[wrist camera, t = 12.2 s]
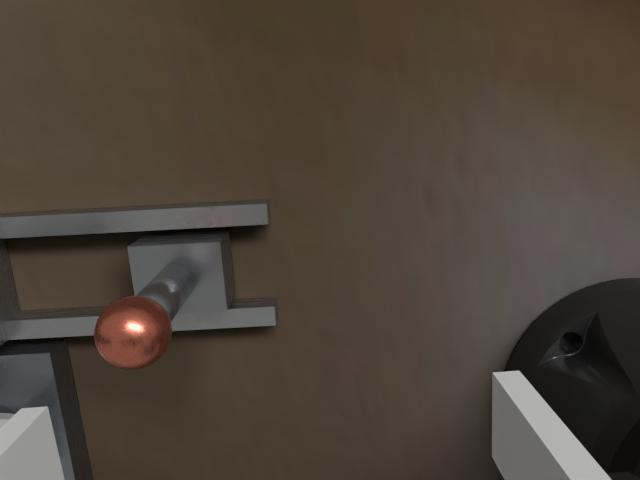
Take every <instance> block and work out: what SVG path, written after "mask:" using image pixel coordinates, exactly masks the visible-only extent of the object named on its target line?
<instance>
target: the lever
mask: <svg viewBox="0 0 640 480" xmlns="http://www.w3.org/2000/svg"><path fill="white" fill-rule="evenodd" d="M127 249H128V255H129V262H130V269H131V275H132V282H133V289H134V295H135V296H127V297H123V298H121V299H118V300H116V301H114V302H113V303H111V304H110V305H109V306H107V307H106V308H105V309H104V310H103V312H102V313H101V314H100V316H99V318H98V320H97V322H96V325H95V329H94V341H95V346H96V348H97V350H98V352H99V354H100V355H101V357H102V358H103V359H104V360H105V361H106V362H108V363H109V364H111V365H112V366H114V367H117V368H120V369H125V370H135V369H141V368H144V367H147V366H149V365H151V364H153V363H154V362H156V361H157V360H158V359H159V358H160V357H161V356H162V355H163V354H164V353H165V351H166V350H167V348H168V346H169V344H170V341H171V337H172V324H171V322H172V320H173V319H174V317H175V316H176V314H188V313H206V312H225V311H228V308H229V306H230V304H231V302H232V299H233V297H234V295H235V285H234V275H233V264H232V254H231V244H230V234H229V230H220V231H201V232H182V233H163V234H146V235H144V236H143V237H141V238H140V239H138V240H137V241H135V242H134V243H132V244H131V245H129V246H128V247H127Z"/></svg>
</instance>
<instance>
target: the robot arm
mask: <svg viewBox="0 0 640 480" xmlns="http://www.w3.org/2000/svg"><path fill="white" fill-rule="evenodd" d="M492 458H493V460H494V461H495V463H496V465H497V467H498V469H499V471H500V472H501V474H502V476H503V478H504V480H640V279H639V278H627V279H617V280H611V281H606V282H602V283H598V284H595V285H592V286H589V287H586V288H584V289H581V290H579V291H577V292H575V293H573V294H571V295H569V296H567V297H565V298H564V299H562V300H561V301H559V302H558V303H556V304H555V305H553V306H552V307H551V308H549V309H548V310H547V311H546V312H544V313H543V314H542V315H541V316H540V317H539V318H538V319H537V320H536V321H535V322H534V323H533V324H532V325H531V327H530V328H529V329H528V330H527V331H526V333H525V334H524V335H523V337H522V338H521V340H520V341H519V343H518V345H517V346H516V348H515V350H514V352H513V354H512V356H511V359H510V361H509V364H508V367H507V370H506V372H493V373H492ZM0 480H65V479H64V475H63V470H62V466H61V462H60V457H59V453H58V449H57V444H56V440H55V436H54V431H53V427H52V423H51V418H50V414H49V409H48V406H47V407H33V408H21V409H20V410H19V411H18V412H17V413H16V414H15V415H14V416H13V417H12V418H11V419H10V420H9V421H8V422H7V423H6V424H4V425H3V426H2V427H1V428H0Z"/></svg>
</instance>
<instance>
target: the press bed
mask: <svg viewBox="0 0 640 480" xmlns="http://www.w3.org/2000/svg"><path fill="white" fill-rule="evenodd" d="M47 406H48V409H49V414H50V418H51V423H52V427H53V431H54V436H55V440H56V444H57V449H58V453H59V457H60V462H61V466H62V470H63V475H64V479H65V480H93V477H92V472H91V466H90V461H89V456H88V451H87V445H86V440H85V435H84V430H83V425H82V419H81V414H80V409H79V404H78V398H77V393H76V388H75V383H74V377H73V372H72V367H71V362H70V356H69V351H68V346H67V341H66V338H64V339H46V340H27V341H9V342H5V343H4V344H2V345H1V346H0V413H8V414H16V413H17V412H18V411H19V410H20V409H21V408H33V407H47Z"/></svg>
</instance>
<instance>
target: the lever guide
mask: <svg viewBox="0 0 640 480" xmlns="http://www.w3.org/2000/svg"><path fill="white" fill-rule="evenodd" d="M269 221H270V207H269V199H264V200H245V201H226V202H207V203H188V204H169V205H150V206H131V207H112V208H93V209H74V210H55V211H36V212H17V213H0V346H1V345H2V344H4V343H5V342H7V341H8V340H18V339H36V338H55V337H73V336H91V335H94V329H95V325H96V322H97V320H98V318H99V316H100V314H101V313H102V312H103V310H104V309H105V308H106V307H107V306H104V307H86V308H68V309H49V310H31V311H20V307H19V302H18V298H17V293H16V288H15V284H14V279H13V274H12V269H11V265H10V260H9V255H8V251H7V246H6V241H5V238H22V237H41V236H60V235H79V234H98V233H116V232H135V231H154V230H173V229H192V228H211V227H229V226H248V225H267V224H269ZM277 316H278V312H277V299H276V297H271V298H252V299H234V300H232V302H231V304H230V306H229V308H228V311H225V312H206V313H188V314H176V316H175V317H174V319H173V320H172V322H171V324H172V331H183V330H201V329H219V328H238V327H256V326H274V325H276V322H277Z"/></svg>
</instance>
